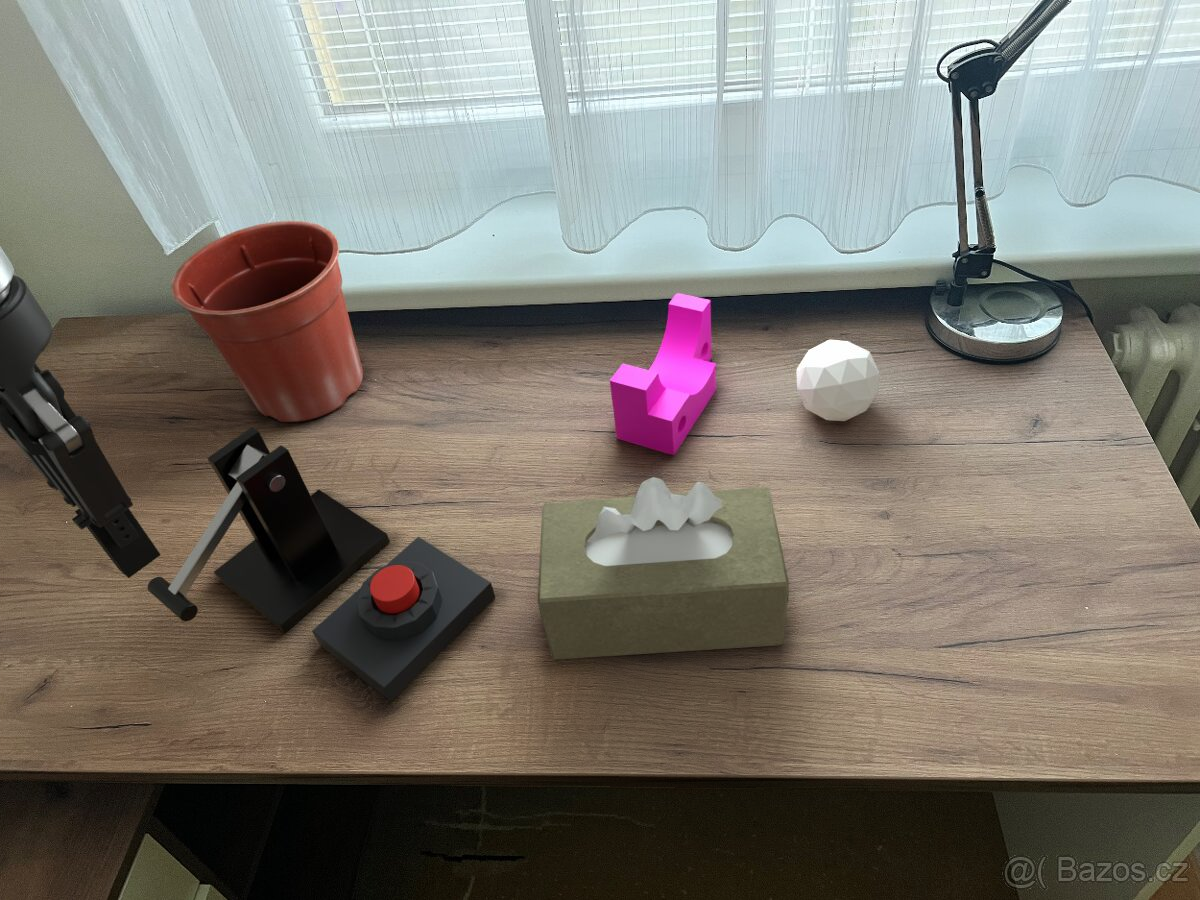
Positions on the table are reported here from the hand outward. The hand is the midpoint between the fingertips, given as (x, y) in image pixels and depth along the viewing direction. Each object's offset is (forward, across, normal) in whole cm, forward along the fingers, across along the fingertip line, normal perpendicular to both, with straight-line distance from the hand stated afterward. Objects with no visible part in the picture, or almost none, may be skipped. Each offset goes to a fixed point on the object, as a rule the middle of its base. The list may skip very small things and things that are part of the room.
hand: (139, 561), depth 66 cm
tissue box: (+11, -30, -26) cm, 41 cm away
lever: (+3, 0, -6) cm, 7 cm away
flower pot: (+11, +20, -27) cm, 36 cm away
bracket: (+11, 0, -11) cm, 16 cm away
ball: (+11, -30, -54) cm, 63 cm away
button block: (+11, -13, -12) cm, 21 cm away
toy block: (+11, -16, -47) cm, 51 cm away
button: (+8, -13, -12) cm, 19 cm away
